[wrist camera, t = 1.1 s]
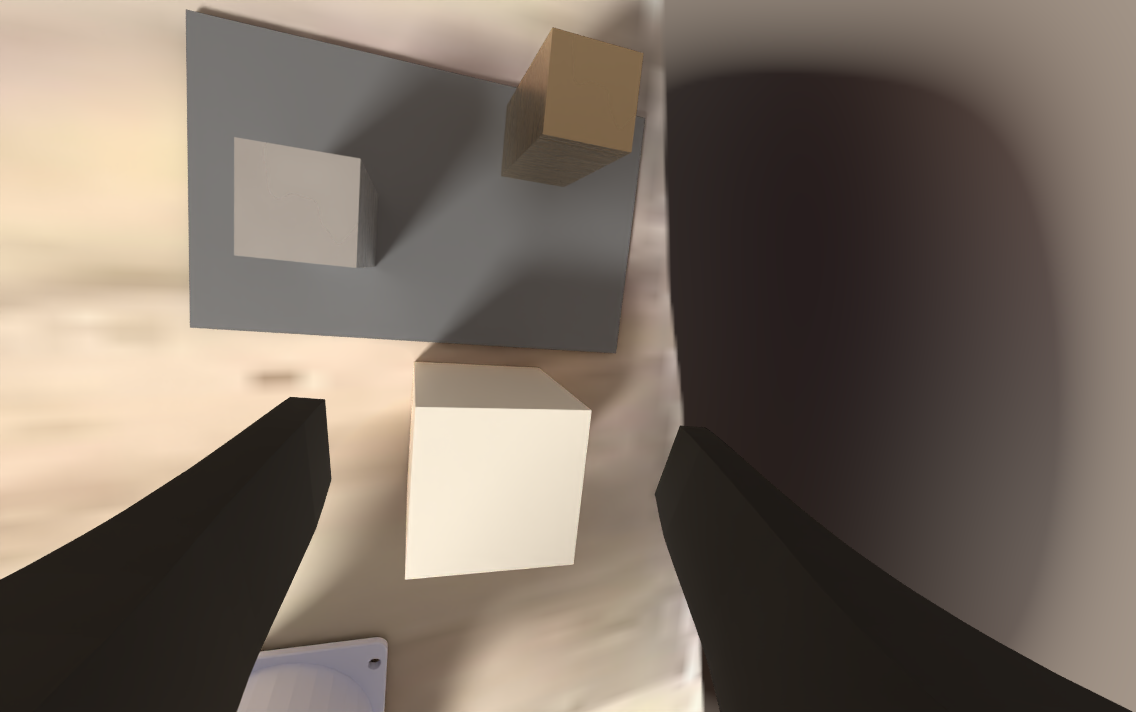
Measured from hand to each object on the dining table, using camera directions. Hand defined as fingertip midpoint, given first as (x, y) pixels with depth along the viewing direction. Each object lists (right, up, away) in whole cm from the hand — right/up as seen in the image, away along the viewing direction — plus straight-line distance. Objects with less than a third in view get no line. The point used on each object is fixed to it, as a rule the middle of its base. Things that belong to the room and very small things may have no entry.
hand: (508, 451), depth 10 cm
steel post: (-7, +7, +7) cm, 12 cm away
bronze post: (0, +10, +9) cm, 14 cm away
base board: (-4, +7, +9) cm, 12 cm away
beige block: (-3, -1, +11) cm, 11 cm away
